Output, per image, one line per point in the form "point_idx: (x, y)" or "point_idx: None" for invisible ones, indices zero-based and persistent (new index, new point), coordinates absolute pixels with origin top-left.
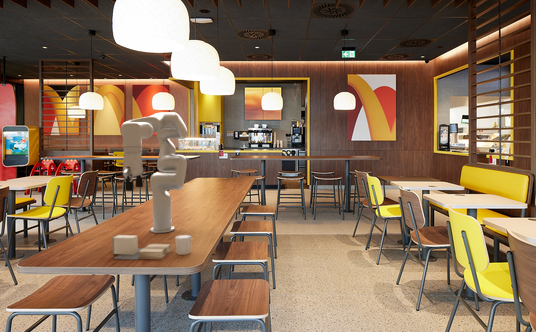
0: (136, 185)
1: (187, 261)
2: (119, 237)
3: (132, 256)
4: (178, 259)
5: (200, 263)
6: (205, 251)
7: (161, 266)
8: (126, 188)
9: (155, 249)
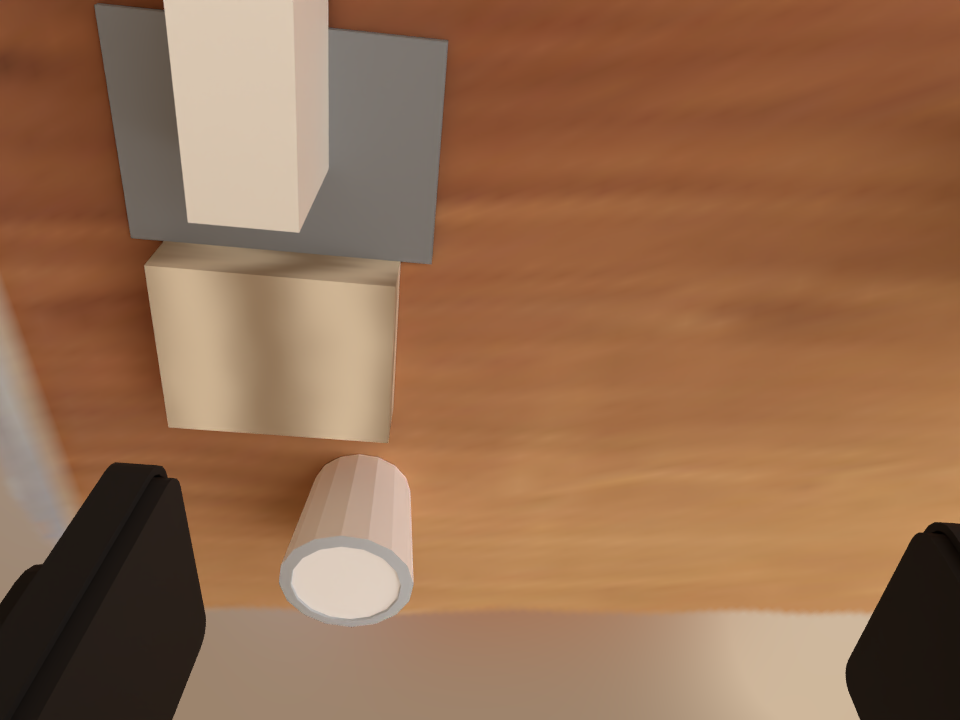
0: (934, 584)
1: None
2: (179, 45)
3: None
4: (212, 492)
5: None
6: None
7: (54, 433)
8: (90, 535)
9: (227, 375)
